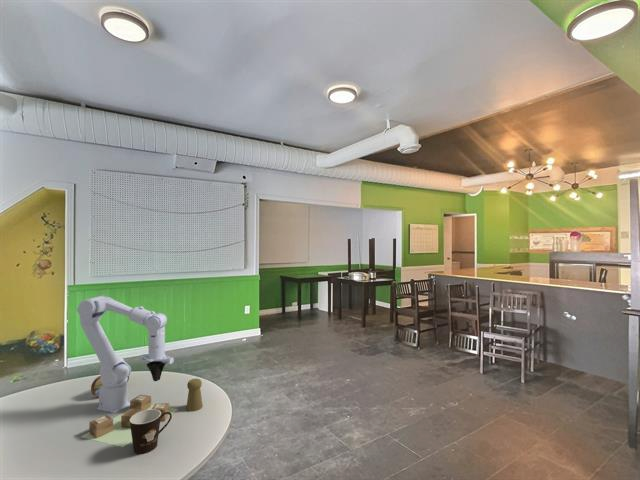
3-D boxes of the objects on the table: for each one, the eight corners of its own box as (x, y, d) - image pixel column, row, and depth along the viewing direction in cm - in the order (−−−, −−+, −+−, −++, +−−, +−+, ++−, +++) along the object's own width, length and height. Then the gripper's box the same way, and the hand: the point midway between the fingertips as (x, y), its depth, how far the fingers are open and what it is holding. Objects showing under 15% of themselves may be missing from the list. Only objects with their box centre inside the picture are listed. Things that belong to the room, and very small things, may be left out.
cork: (197, 413, 121) (197, 383, 122) (182, 411, 123) (182, 382, 123) (205, 405, 127) (205, 377, 128) (192, 403, 129) (192, 376, 129)
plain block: (121, 427, 112) (121, 415, 112) (131, 419, 117) (131, 408, 117) (134, 428, 111) (134, 416, 111) (144, 420, 116) (144, 409, 116)
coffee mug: (127, 461, 95) (127, 426, 95) (131, 444, 103) (131, 412, 103) (171, 450, 100) (171, 418, 100) (171, 435, 108) (171, 405, 108)
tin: (94, 400, 132) (94, 379, 132) (89, 399, 133) (89, 378, 133) (129, 385, 145) (129, 367, 145) (125, 384, 147) (125, 365, 147)
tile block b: (149, 422, 115) (149, 410, 115) (155, 414, 120) (155, 403, 120) (164, 421, 115) (164, 409, 116) (169, 413, 120) (169, 402, 120)
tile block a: (89, 433, 108) (89, 420, 108) (105, 426, 112) (105, 414, 112) (96, 438, 105) (96, 425, 105) (113, 430, 110) (113, 418, 110)
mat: (80, 438, 106) (80, 436, 106) (141, 403, 129) (141, 402, 129) (122, 448, 101) (122, 447, 101) (178, 410, 124) (178, 409, 124)
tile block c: (130, 411, 122) (130, 400, 122) (140, 405, 127) (140, 394, 127) (141, 412, 121) (141, 401, 121) (151, 406, 126) (151, 395, 126)
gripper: (133, 346, 125) (133, 381, 125) (163, 350, 120) (163, 386, 120) (148, 341, 132) (148, 374, 132) (177, 344, 127) (177, 379, 127)
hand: (156, 380), depth 126 cm, fingers closed
